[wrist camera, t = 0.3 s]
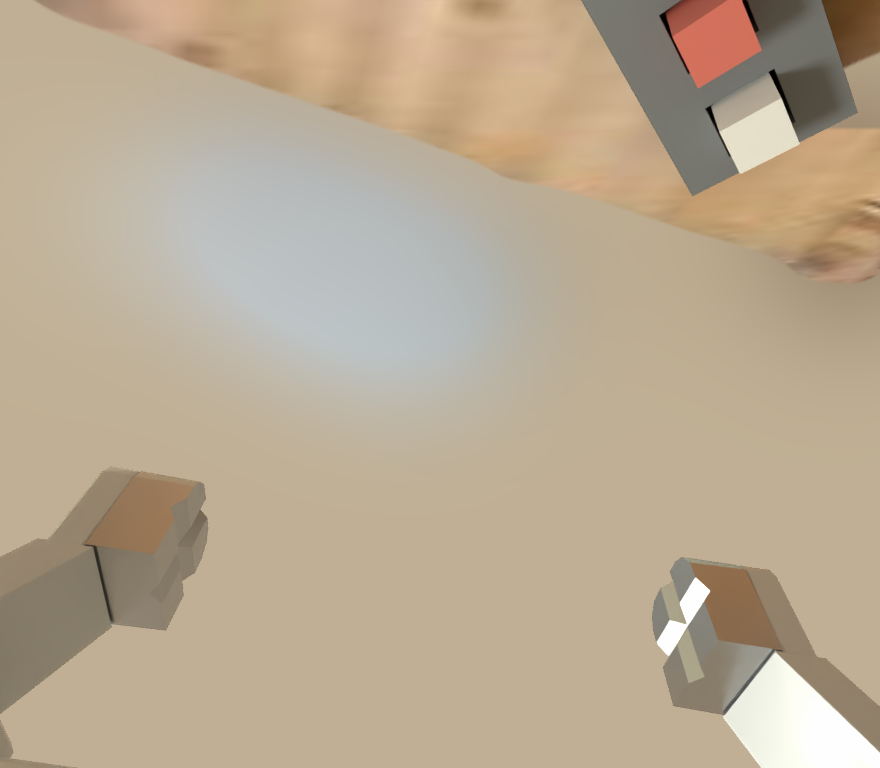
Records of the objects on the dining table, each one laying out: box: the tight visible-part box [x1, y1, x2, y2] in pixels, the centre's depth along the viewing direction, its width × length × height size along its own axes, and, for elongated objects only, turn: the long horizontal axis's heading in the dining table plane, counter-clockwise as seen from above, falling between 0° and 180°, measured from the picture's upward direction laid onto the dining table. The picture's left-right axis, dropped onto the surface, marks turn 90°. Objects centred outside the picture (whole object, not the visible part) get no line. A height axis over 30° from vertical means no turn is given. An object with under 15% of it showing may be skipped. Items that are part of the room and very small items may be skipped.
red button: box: [665, 0, 762, 88], centre depth 43 cm, size 4×4×5 cm
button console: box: [581, 0, 858, 196], centre depth 45 cm, size 13×26×5 cm, turn 40°
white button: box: [711, 72, 800, 174], centre depth 48 cm, size 4×4×5 cm
